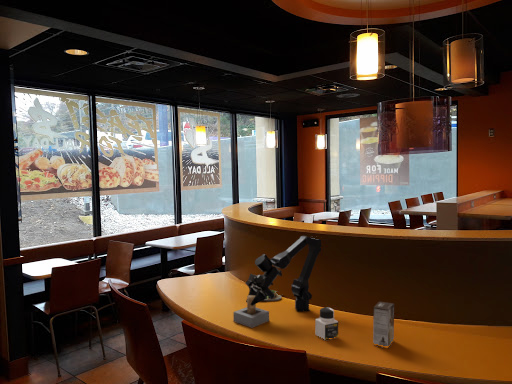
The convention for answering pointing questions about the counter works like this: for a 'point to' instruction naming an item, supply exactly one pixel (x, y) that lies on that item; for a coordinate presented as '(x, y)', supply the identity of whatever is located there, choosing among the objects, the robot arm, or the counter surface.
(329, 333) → the medicine bottle
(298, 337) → the counter surface
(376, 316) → the coffee box
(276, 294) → the salad plate
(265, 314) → the socket block
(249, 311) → the oak peg
